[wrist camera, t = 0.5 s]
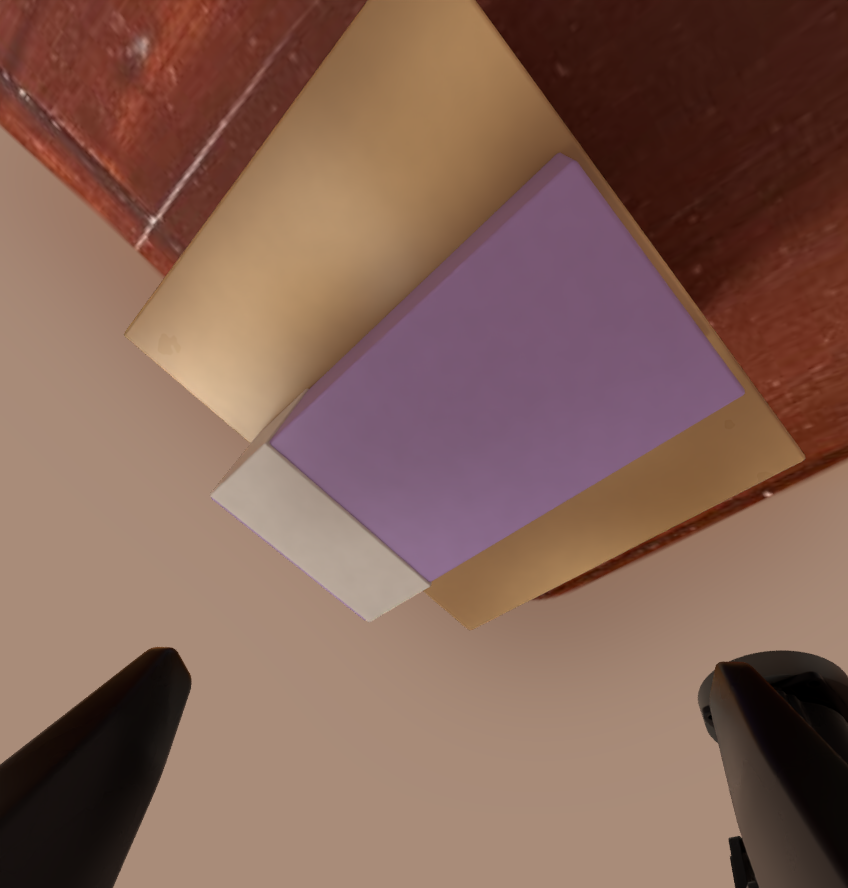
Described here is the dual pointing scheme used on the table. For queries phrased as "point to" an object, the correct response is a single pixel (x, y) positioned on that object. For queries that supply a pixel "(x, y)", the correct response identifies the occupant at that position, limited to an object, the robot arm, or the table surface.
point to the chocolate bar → (480, 401)
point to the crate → (418, 275)
